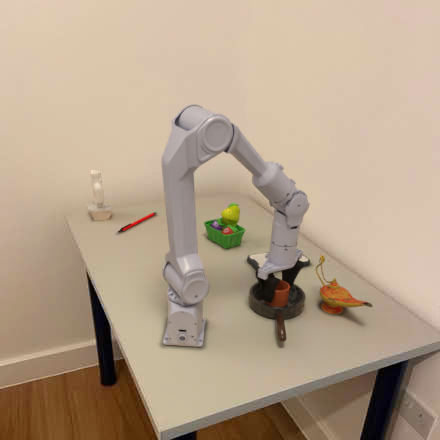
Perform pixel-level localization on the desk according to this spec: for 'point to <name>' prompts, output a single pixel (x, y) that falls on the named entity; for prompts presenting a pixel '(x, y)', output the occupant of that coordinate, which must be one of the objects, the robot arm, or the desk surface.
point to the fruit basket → (226, 228)
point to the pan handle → (280, 326)
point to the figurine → (98, 199)
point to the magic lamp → (336, 295)
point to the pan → (290, 310)
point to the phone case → (260, 259)
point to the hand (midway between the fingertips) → (277, 294)
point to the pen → (136, 222)
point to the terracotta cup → (280, 295)
